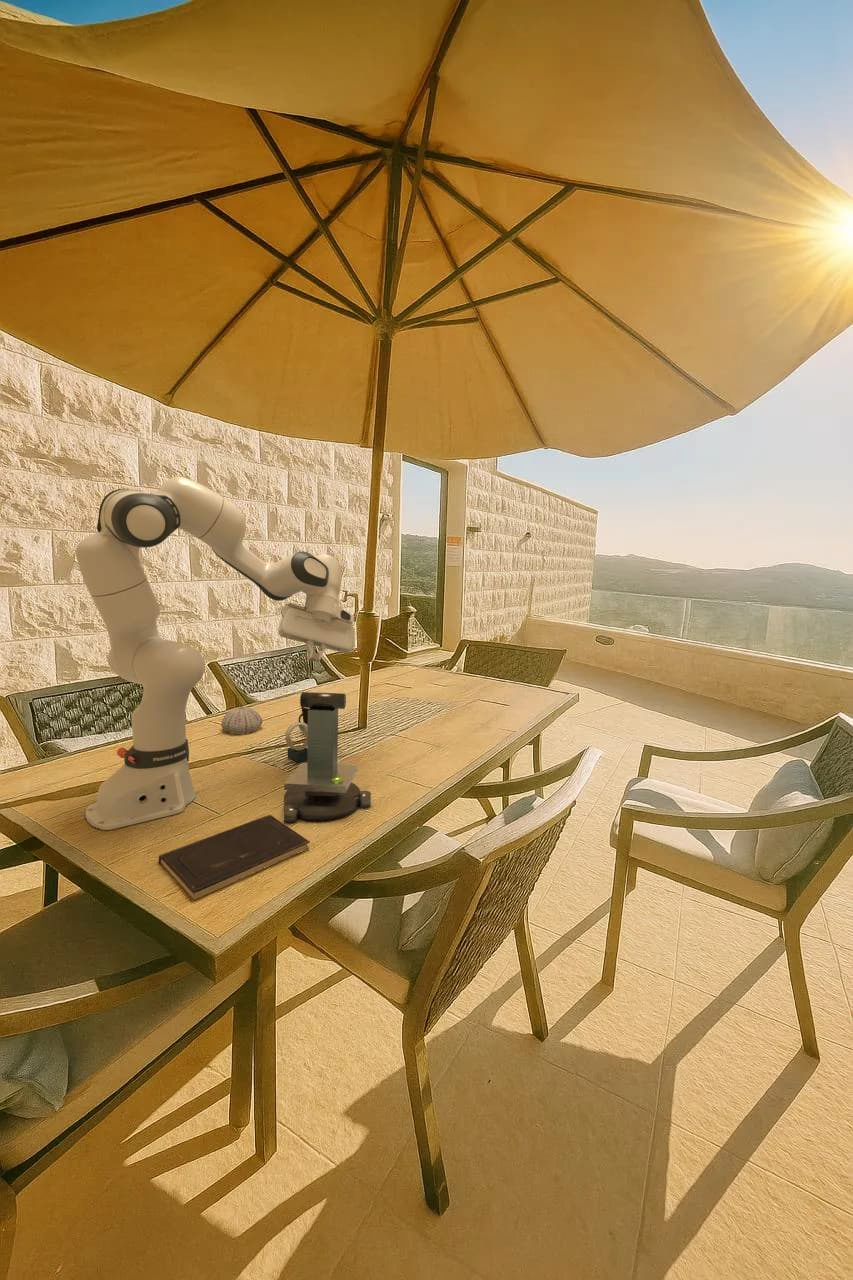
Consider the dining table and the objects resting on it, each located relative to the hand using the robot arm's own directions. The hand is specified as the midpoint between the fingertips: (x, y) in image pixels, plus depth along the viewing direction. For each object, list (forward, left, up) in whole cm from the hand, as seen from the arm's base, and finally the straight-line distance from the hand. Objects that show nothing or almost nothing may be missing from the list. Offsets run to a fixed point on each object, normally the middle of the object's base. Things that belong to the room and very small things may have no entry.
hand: (313, 660), depth 131 cm
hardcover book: (-32, -19, -33) cm, 50 cm away
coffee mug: (+20, +31, -33) cm, 49 cm away
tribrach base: (-6, -14, -32) cm, 36 cm away
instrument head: (-7, -13, -26) cm, 30 cm away
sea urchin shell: (+6, +51, -33) cm, 61 cm away
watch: (+5, +15, -33) cm, 36 cm away
